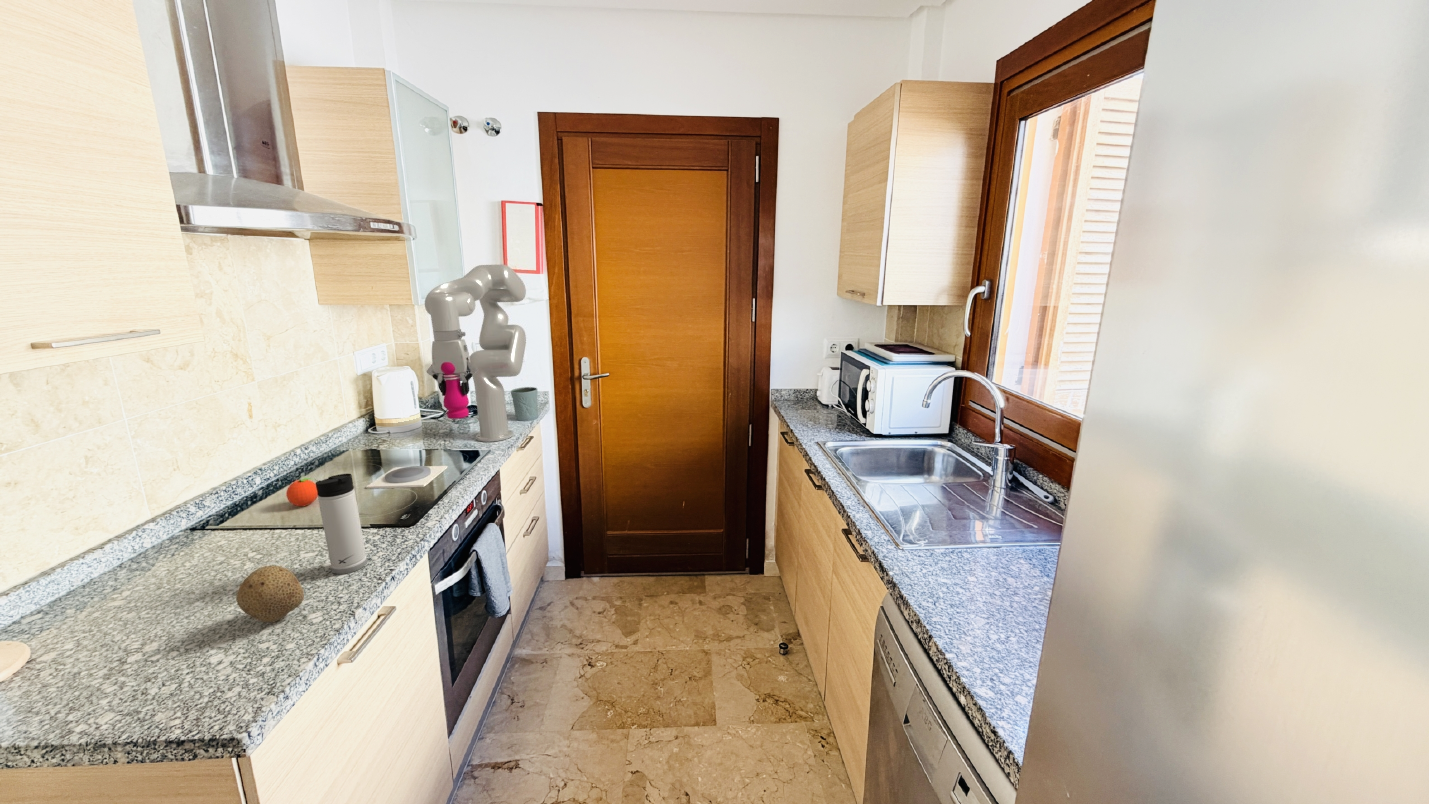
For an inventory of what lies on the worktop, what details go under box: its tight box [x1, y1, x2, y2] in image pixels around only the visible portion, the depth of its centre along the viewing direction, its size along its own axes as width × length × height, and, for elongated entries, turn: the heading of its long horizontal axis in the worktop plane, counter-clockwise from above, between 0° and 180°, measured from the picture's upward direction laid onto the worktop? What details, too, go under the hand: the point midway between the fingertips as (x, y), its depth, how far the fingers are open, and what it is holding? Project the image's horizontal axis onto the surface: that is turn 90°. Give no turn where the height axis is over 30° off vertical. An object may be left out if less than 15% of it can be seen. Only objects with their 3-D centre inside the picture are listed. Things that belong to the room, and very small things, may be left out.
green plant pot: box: [510, 386, 539, 422], centre depth 235 cm, size 10×10×12 cm
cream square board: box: [365, 465, 448, 490], centre depth 172 cm, size 16×16×2 cm
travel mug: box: [315, 473, 368, 575], centre depth 119 cm, size 6×7×20 cm
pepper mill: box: [441, 362, 470, 420], centre depth 180 cm, size 7×7×20 cm
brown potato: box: [236, 565, 305, 623], centre depth 103 cm, size 9×9×10 cm
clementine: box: [285, 477, 318, 507], centre depth 154 cm, size 8×7×7 cm
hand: (455, 393), depth 181 cm, fingers closed on pepper mill, 5 cm apart
